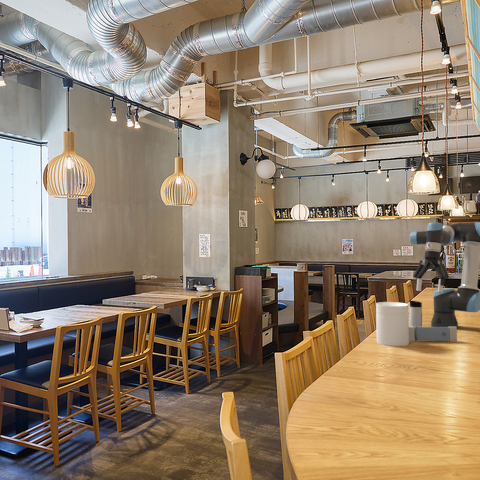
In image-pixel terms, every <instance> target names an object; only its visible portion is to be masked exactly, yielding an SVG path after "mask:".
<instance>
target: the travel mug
mask: <svg viewBox="0 0 480 480" xmlns="http://www.w3.org/2000/svg"><path fill="white" fill-rule="evenodd" d="M408 301H409V326H413V327H415V326H416V327H423V303H422V301H417V300H408Z"/></svg>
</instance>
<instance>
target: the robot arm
mask: <svg viewBox="0 0 480 480" xmlns="http://www.w3.org/2000/svg"><path fill="white" fill-rule="evenodd" d="M409 242H410V243H411V245H419V246H420V245H425V248H424V250H425V251H424V260H421V259H420V260H419V264H418V266H417V267H416V270H415V272H414V274H413V278H415V279H416V281H415V283H416V288H415V289H416V291H418V292H422V285H423V279H422V278H423V277H424V275H425V274H426V273H427V271H428V270H435V272H436V273H437V275H438V277H439V279H438V285H437V289H435V290H434V291H433V315H432V318H431V320H430V327H457V329H458V328H459V322H458V320H457V316H456V311H457V312H458V311H459V312H466V313H477V312H479V311H480V289H479V287H478V283H479V272H480V271H479V270H480V222H478V221H474V222H455V223H451V224H448V225H444V224H443V223H441V222H435V221H434V222H432V221H431V222H429V223H428V224H427V228H426V230H422V231H419V230H417V231H411V233H410V234H409ZM453 242H460V243H462V245H463V246H464V250H463V251H464V253H463V260H462V270H461V271H462V272H461V282H460V286H458V287H457V290H455V288H453V287H451V288H450V287H449V288H444V286H445V285H446V284H445V283H446V282H445V281H446V280H447V279H449V277H450V276H449V273H448V271H447V268H446V264H445V263H446V262H445V260H443V259H441V251H442V246H444V247H445V246H446V247H448V246H450V245H452V244H453Z"/></svg>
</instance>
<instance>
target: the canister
mask: <svg viewBox="0 0 480 480" xmlns="http://www.w3.org/2000/svg"><path fill="white" fill-rule="evenodd" d="M375 312H376V315H375V318H376V320H375V321H376V323H375V326H376V329H375V330H376V343H377V344H379V345H383V346H388V347H404V346H408V345H409V344H410V342H409V326H410V315H408V312H409V304H408V303H404V302H397V301H396V302H395V301H382V302H376V303H375Z"/></svg>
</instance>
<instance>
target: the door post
mask: <svg viewBox="0 0 480 480" xmlns="http://www.w3.org/2000/svg"><path fill="white" fill-rule="evenodd" d="M410 342H414V343H415V338H414V327H413V326H410V325H409V343H410Z"/></svg>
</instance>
